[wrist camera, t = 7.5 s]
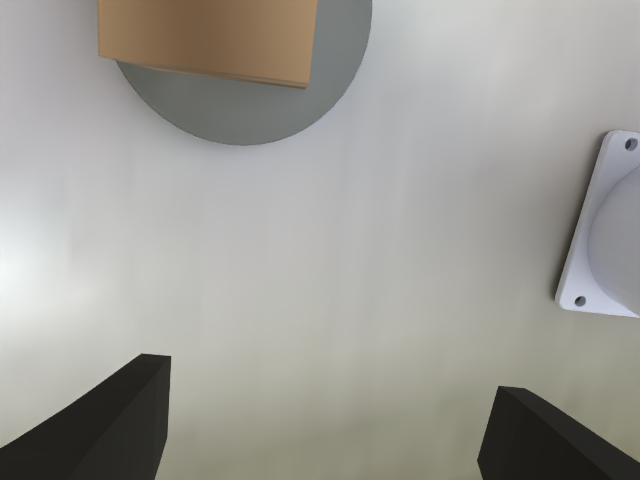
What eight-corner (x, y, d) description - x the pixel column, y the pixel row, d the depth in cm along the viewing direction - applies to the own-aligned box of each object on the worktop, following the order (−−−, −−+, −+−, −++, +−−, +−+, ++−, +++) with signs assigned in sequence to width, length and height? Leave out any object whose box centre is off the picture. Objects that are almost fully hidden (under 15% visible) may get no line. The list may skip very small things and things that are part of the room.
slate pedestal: (382, -100, 16) (394, -127, 14) (344, 154, 19) (350, 160, 17) (122, -148, 15) (97, -184, 13) (119, 124, 18) (98, 127, 16)
